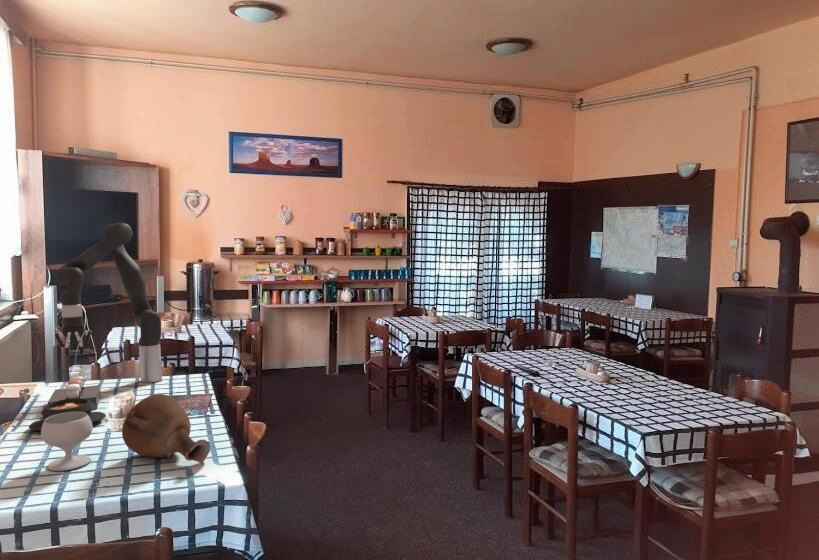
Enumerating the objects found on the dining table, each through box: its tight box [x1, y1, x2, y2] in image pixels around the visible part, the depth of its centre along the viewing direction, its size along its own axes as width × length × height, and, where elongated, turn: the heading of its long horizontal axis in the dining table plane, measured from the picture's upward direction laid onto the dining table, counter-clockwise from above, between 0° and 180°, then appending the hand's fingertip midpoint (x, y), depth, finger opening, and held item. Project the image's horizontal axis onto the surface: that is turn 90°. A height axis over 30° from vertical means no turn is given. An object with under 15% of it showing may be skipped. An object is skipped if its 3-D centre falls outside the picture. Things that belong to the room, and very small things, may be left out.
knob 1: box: [69, 375, 84, 390], centre depth 261 cm, size 5×5×6 cm
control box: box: [47, 384, 102, 411], centre depth 255 cm, size 17×20×5 cm
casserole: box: [28, 398, 107, 431], centre depth 229 cm, size 25×19×8 cm
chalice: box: [40, 412, 94, 472], centre depth 192 cm, size 14×14×15 cm
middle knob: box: [67, 380, 83, 394], centre depth 255 cm, size 5×5×6 cm
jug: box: [121, 393, 211, 463], centre depth 197 cm, size 20×20×30 cm
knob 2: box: [64, 384, 80, 399], centre depth 248 cm, size 5×5×6 cm
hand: (75, 355), depth 260 cm, fingers open, 4 cm apart
